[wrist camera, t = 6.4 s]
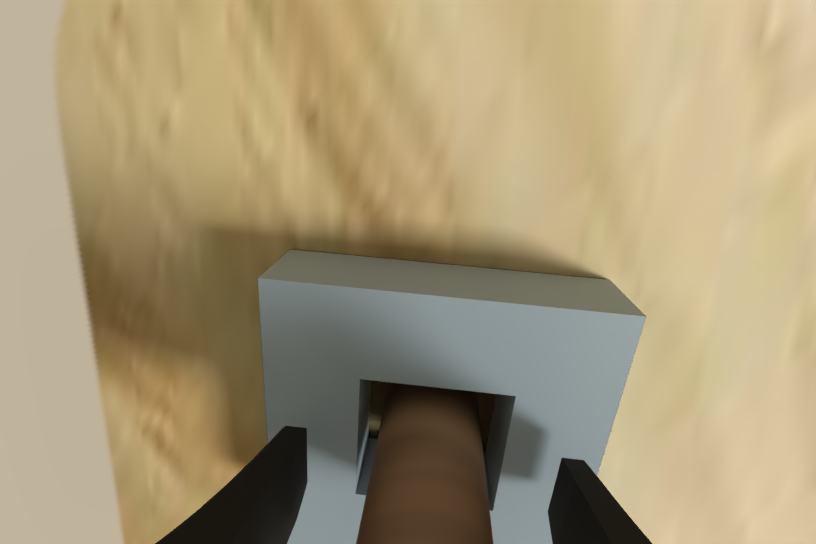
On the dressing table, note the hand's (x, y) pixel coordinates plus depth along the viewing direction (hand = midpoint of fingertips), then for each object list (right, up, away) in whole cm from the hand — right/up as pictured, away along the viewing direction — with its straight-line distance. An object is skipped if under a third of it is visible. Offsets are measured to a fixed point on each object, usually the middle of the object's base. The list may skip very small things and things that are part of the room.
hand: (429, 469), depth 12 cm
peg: (0, +1, +3) cm, 3 cm away
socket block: (0, +1, +3) cm, 3 cm away
